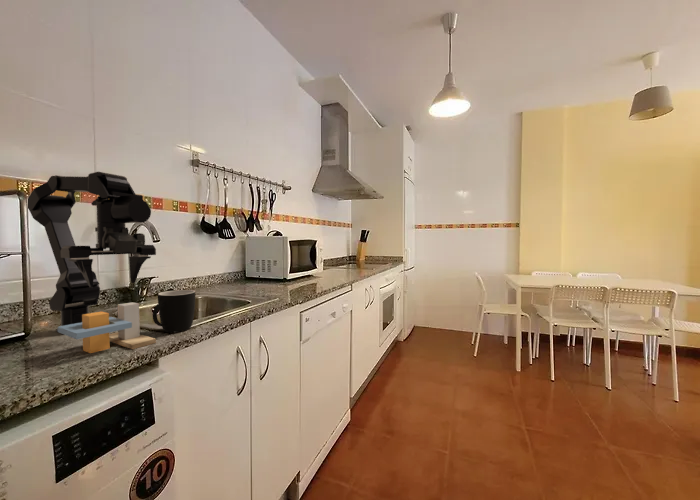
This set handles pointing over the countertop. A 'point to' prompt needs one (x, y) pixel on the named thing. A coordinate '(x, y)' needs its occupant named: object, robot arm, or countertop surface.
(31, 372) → the countertop surface
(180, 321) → the mug
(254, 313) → the countertop surface
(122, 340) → the board
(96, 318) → the orange square post
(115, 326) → the bracket
